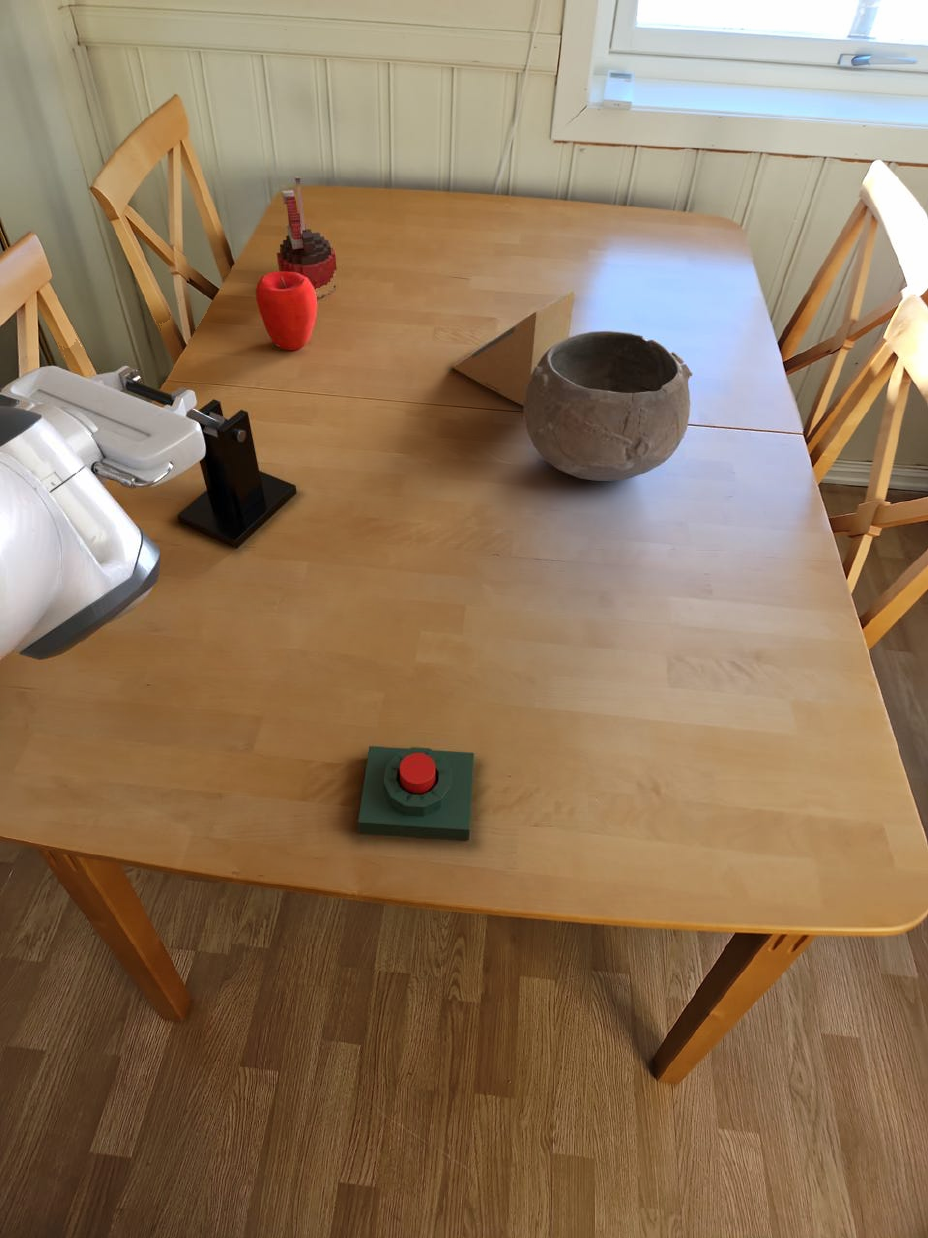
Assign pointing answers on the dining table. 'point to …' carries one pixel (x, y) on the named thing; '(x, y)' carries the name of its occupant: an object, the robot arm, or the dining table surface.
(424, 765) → the button
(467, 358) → the sandwich container
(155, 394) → the lever
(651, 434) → the clay pot
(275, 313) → the apple
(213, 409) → the bracket
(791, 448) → the dining table surface
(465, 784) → the button box
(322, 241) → the cake
